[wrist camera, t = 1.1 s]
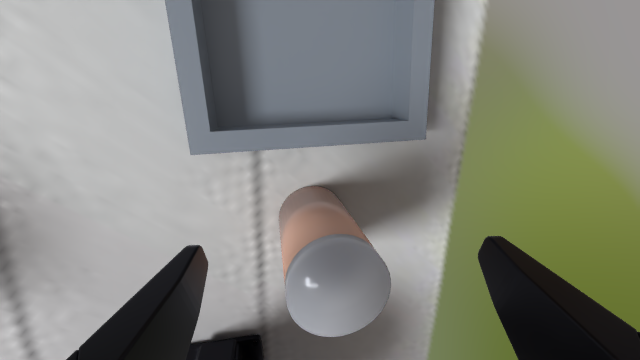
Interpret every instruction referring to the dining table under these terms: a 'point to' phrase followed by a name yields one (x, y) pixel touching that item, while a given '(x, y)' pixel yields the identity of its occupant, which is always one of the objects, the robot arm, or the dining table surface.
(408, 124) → the tray
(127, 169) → the dining table surface
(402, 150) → the dining table surface
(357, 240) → the cylinder
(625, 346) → the robot arm
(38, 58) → the dining table surface
